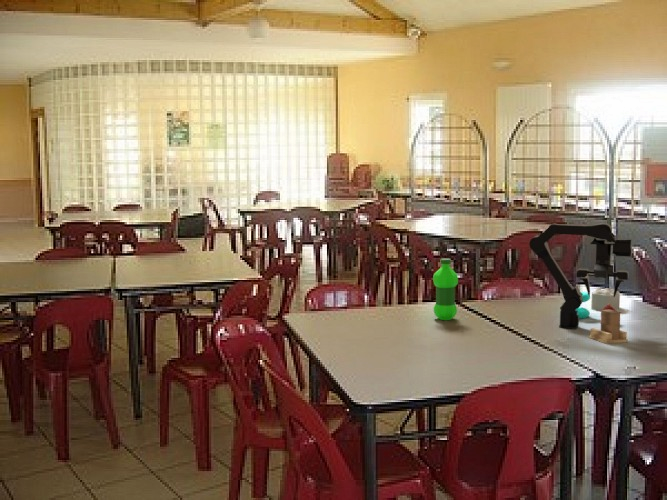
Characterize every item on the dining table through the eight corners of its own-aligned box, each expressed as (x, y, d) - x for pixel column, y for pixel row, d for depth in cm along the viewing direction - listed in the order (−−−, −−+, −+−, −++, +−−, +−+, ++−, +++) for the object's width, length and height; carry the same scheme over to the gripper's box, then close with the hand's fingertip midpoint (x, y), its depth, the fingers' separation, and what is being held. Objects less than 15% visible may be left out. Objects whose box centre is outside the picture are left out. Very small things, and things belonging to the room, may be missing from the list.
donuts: (562, 290, 335) (586, 290, 335) (561, 314, 337) (585, 314, 336) (568, 295, 325) (593, 295, 325) (568, 319, 327) (592, 319, 326)
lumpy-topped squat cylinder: (588, 309, 346) (588, 289, 345) (602, 304, 356) (602, 285, 355) (610, 312, 339) (611, 292, 338) (624, 308, 348) (625, 288, 347)
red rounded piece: (616, 325, 315) (617, 305, 314) (601, 324, 316) (602, 304, 315) (614, 321, 320) (615, 302, 319) (599, 321, 322) (600, 302, 321)
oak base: (589, 337, 294) (589, 328, 294) (609, 335, 297) (609, 326, 297) (607, 343, 285) (607, 334, 284) (627, 341, 288) (627, 332, 287)
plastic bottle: (456, 316, 334) (457, 257, 331) (458, 321, 323) (458, 261, 320) (432, 316, 335) (433, 257, 332) (433, 321, 324) (433, 260, 321)
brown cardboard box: (600, 336, 292) (601, 310, 291) (608, 335, 293) (609, 309, 292) (611, 340, 287) (612, 313, 285) (619, 339, 288) (620, 312, 287)
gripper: (575, 257, 301) (574, 298, 303) (627, 259, 293) (626, 301, 295) (578, 254, 311) (577, 293, 313) (629, 256, 304) (627, 296, 306)
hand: (601, 296), depth 306 cm, fingers open, 9 cm apart
